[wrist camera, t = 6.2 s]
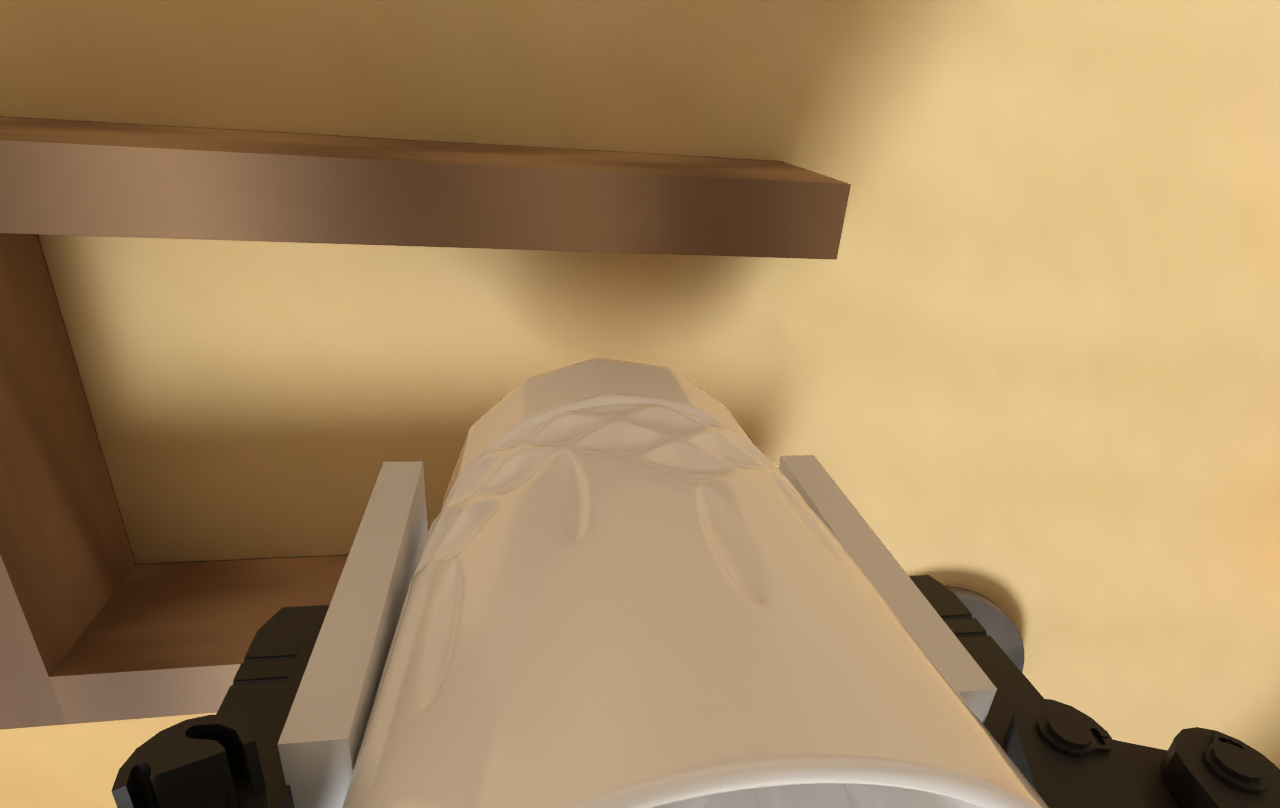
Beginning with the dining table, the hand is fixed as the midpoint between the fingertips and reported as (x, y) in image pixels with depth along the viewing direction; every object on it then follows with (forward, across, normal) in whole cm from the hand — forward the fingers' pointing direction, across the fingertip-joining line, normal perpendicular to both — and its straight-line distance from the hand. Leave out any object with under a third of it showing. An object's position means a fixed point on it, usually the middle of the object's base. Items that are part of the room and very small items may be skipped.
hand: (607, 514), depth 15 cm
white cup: (+1, 0, 0) cm, 1 cm away
